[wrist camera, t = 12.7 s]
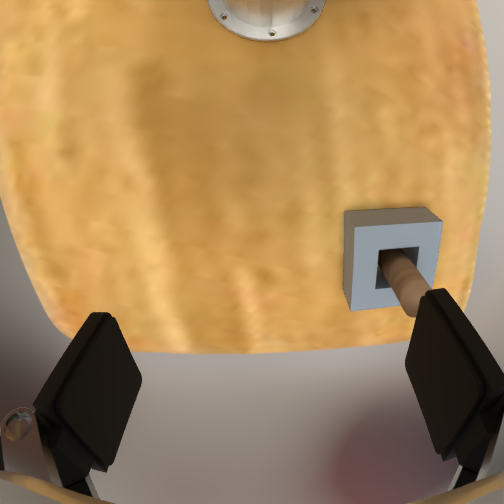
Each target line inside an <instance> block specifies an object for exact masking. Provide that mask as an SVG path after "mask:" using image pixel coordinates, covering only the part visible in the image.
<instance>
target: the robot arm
mask: <svg viewBox="0 0 504 504" xmlns="http://www.w3.org/2000/svg"><path fill="white" fill-rule="evenodd" d="M324 3H325V0H208V4H209V8H210V9H211V11H212V13H213V15H214V17H215V18H216V19H217V21H218V22H219V23H220V24H221V25H222V26H223V27H224V28H226V29H227V30H229V31H230V32H232V33H233V34H236V35H238V36H240V37H242V38H246V39H249V40H253V41H262V42H273V41H280V40H286V39H289V38H292V37H294V36H297V35H299V34H301V33H302V32H304V31H306V30H307V29H308V28H309V27H310V26H312V25H313V24H314V22H315V21H316V20H317V19H318V17H319V16H320V14H321V12H322V10H323V7H324ZM311 10H315V11H316V12H315V13H313V12H312V11H311ZM223 17H227V19H225V20H223ZM271 33H274V34H275V36H273V37H271V36H270V34H271ZM405 367H406V371H407V373H408V376H409V378H410V381H411V384H412V386H413V389H414V392H415V394H416V397H417V399H418V402H419V405H420V408H421V410H422V413H423V416H424V419H425V422H426V425H427V428H428V430H429V434H430V437H431V440H432V442H433V446H434V448H435V451H436V453H437V454H441V456H442V459H443V461H446V460H449V459H452V458H455V457H457V459H458V462H459V467H458V470H457V472H456V474H455V476H454V478H453V481H452V483H451V485H450V487H449V489H448V491H447V492H445V493H442V494H439V495H435V496H432V497H429V498H426V499H422V500H418V501H415V502H412V503H408V504H504V373H503V372H502V370H501V368H500V367H499V365H498V364H497V362H496V360H495V359H494V357H493V356H492V354H491V352H490V351H489V349H488V348H487V346H486V345H485V343H484V342H483V340H482V339H481V337H480V336H479V334H478V333H477V331H476V330H475V328H474V327H473V326H472V324H471V323H470V321H469V320H468V319H467V317H466V316H465V314H464V313H463V311H462V310H461V309H460V307H459V306H458V305H457V303H456V302H455V301H454V299H453V298H452V297H451V295H450V294H449V293H448V291H447V290H446V289H445V288H440V289H433V290H428V291H426V293H425V296H422V297H421V298H420V302H419V307H418V311H417V316H416V320H415V324H414V328H413V332H412V336H411V340H410V344H409V348H408V352H407V355H406V359H405ZM141 383H142V376H141V373H140V371H139V369H138V367H137V365H136V363H135V361H134V359H133V357H132V355H131V352H130V350H129V348H128V346H127V344H126V341H125V339H124V337H123V334H122V332H121V330H120V328H119V325H118V323H117V321H116V319H115V318H114V317H112V316H111V314H110V313H107V312H93V313H91V314H90V315H89V317H88V318H87V319H86V321H85V322H84V324H83V325H82V327H81V328H80V330H79V331H78V333H77V334H76V336H75V337H74V339H73V340H72V342H71V343H70V345H69V346H68V348H67V349H66V351H65V352H64V354H63V356H62V357H61V359H60V360H59V362H58V363H57V365H56V366H55V368H54V370H53V371H52V373H51V375H50V376H49V378H48V380H47V381H46V383H45V384H44V386H43V388H42V389H41V391H40V393H39V395H38V396H37V398H36V400H35V401H34V403H33V406H34V407H35V408H36V412H35V413H33V412H32V411H31V410H30V409H28V408H18V409H15V410H13V411H12V412H10V413H9V414H8V415H7V416H6V417H5V419H4V420H3V422H2V425H1V431H0V434H1V435H0V504H114V503H110V502H107V501H103V500H100V498H99V496H98V493H97V491H96V489H95V487H94V484H93V482H92V480H91V477H90V475H89V472H90V469H91V468H92V469H94V470H98V471H102V472H107V469H108V466H110V465H112V464H113V462H114V460H115V457H116V454H117V451H118V448H119V445H120V442H121V439H122V436H123V433H124V430H125V427H126V424H127V422H128V419H129V417H130V414H131V411H132V408H133V405H134V403H135V400H136V397H137V395H138V392H139V389H140V387H141Z"/></svg>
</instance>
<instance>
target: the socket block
mask: <svg viewBox="0 0 504 504" xmlns="http://www.w3.org/2000/svg"><path fill="white" fill-rule="evenodd" d="M442 226H443V221H442V220H441V219H439V218H438V217H437V216H436V215H435V214H433V213H432V212H431V211H430V210H428V209H427V208H426V207H412V208H392V209H374V210H357V211H344V270H343V291H344V294H345V297H346V300H347V303H348V306H349V309H350V311H359V310H368V309H376V308H384V307H392V306H400V305H401V304H400V302H399V300H398V299H397V297H396V295H395V293H394V292H393V290H392V288H391V286H390V284H389V283H388V281H387V279H386V278H385V276H384V274H383V272H382V271H381V269H380V267H377V264H378V252H379V250H383V249H395V248H402V250H403V251H404V252H405V254H406V255H407V256H408V258H409V259H410V260H411V262H412V263H413V264H414V265H415V267H416V268H417V269H418V271H419V272H420V273H421V275H422V276H423V277H424V279H425V280H426V281H427V283H428V284H429V286H430V287H431V288H432V287H433V282H434V277H435V272H436V266H437V260H438V254H439V248H440V241H441V234H442Z"/></svg>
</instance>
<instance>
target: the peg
mask: <svg viewBox="0 0 504 504" xmlns="http://www.w3.org/2000/svg"><path fill="white" fill-rule="evenodd" d="M378 266H379V267H380V269H381V271H382V272H383V274H384V276H385V278H386V279H387V281H388V283H389V284H390V286H391V288H392V290H393V292H394V293H395V295H396V297H397V299H398V300H399V302H400V304H401V306H402V308H403V310H404V311H405V313H406V314H407V315H408V316H410V317H416V316H417V311H418V307H419V302H420V298H421V297H422V296H425V293H426V291H428V290H432V288H431V287H430V286H429V284H428V283H427V281H426V280H425V279H424V277H423V276H422V275H421V273H420V272H419V271H418V269H417V268H416V267H415V265H414V264H413V263H412V262H411V260H410V259H409V258H408V256H407V255H406V254H405V252H404V251H403V250H402V249H401V248H395V249H383V250H379V252H378Z"/></svg>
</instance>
